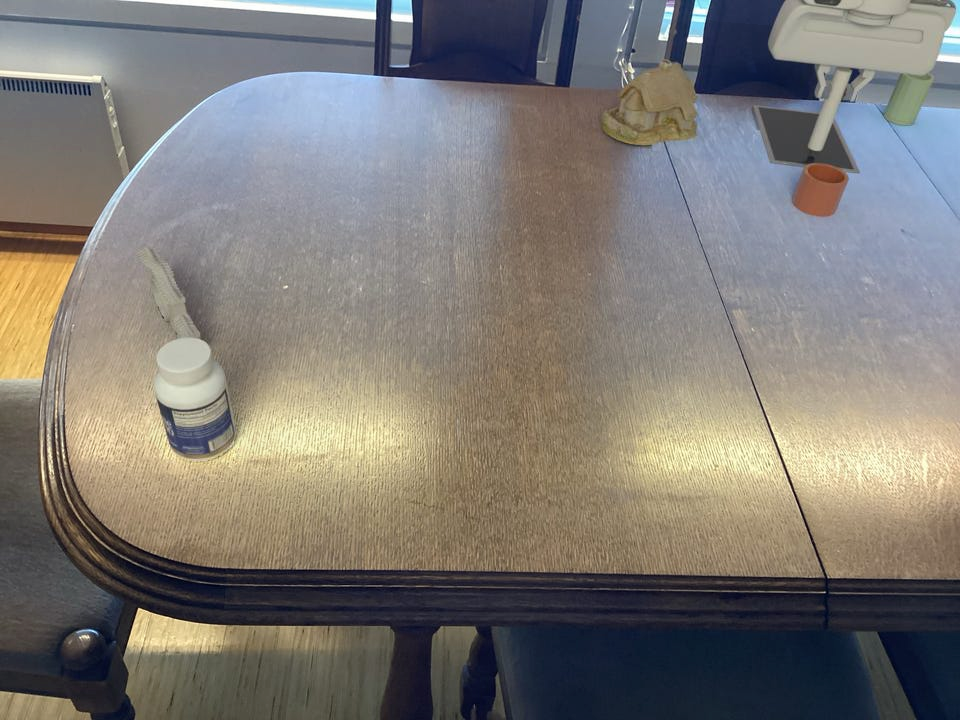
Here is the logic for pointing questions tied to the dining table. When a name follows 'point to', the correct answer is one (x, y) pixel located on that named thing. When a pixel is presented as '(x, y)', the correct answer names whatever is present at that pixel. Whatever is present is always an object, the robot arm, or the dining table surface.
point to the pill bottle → (193, 400)
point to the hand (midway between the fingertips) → (833, 98)
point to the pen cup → (908, 98)
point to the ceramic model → (654, 107)
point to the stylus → (829, 110)
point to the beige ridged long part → (168, 293)
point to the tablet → (800, 139)
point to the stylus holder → (820, 189)
